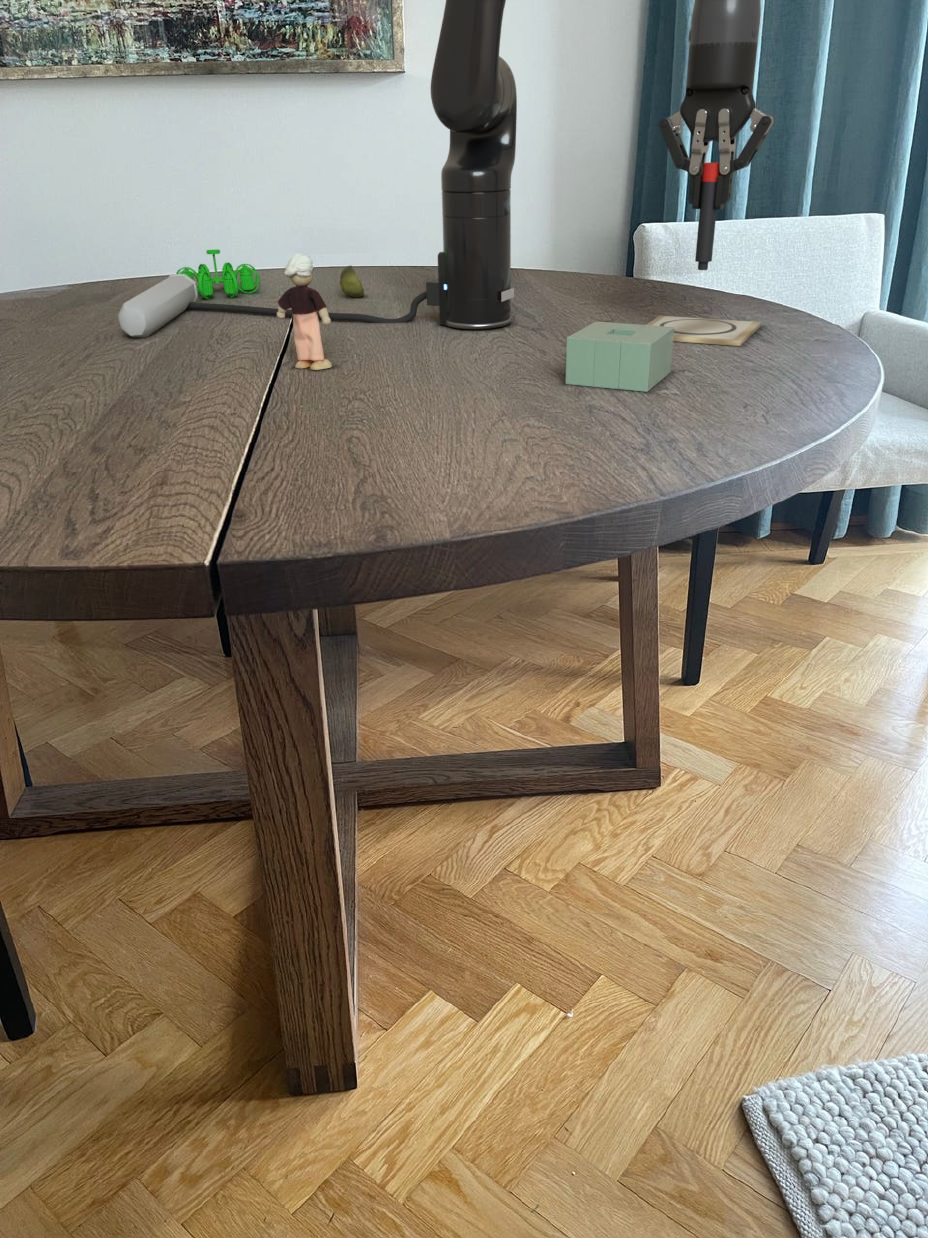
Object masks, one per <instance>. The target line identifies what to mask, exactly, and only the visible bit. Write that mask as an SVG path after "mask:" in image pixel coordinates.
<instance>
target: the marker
mask: <svg viewBox="0 0 928 1238" xmlns="http://www.w3.org/2000/svg"><path fill="white" fill-rule="evenodd" d="M719 169H720V161H719V162H711V161H710V162H705V163H703V173H702V189H701V201H700V209H699V213H698V226H697V236H696V246H695V247H696V248H695V260H694V261H695V263H696V262H697V271H707V270H708V268H709V263H710V262H712V261H713V251H714V242H715V230H716V220H717V211H718V209H715V198H716V187H717V176H718V175H720V170H719Z"/></svg>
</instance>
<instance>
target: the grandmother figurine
mask: <svg viewBox="0 0 928 1238" xmlns="http://www.w3.org/2000/svg"><path fill="white" fill-rule="evenodd" d="M313 268H314V267H313V259H312V258H311V257H310V256H309V255H308V254H307V253H306V254H305V253H296V254H294V255H293V256H292V257H291V258H290V259H289V260H288V261H287V263H286V266H285V269H284V272H283V274H284V276H285V277H288V278H289V279H290V281H291V282H292V284H293V285H295V286H292V287H290V288H288V289H287V290H286V291H285V292H284V293H283V294H282V295H281V296H280V298H279V299H278V300H277V304H278V306H277V309H278V312H277V315H276V317H277V318H278V319H279V320H284V319H285V318H286V316H285V312H286V311H287V310H292V315H293V317H292V327H293V328H292V329H293V339H294V340H293V341H294V345H295V346H294V347H295V351H296V359H297V362H296V363H295V366H294V368H295V369H307V368H309V369H310V370H312V371H320V370H325V369H330V368H332V367H333V364H332V362H331V361H330V360H329V359H327V358H325V354H324V353H325V352H324V348H323V343H322V342H323V341H322V336H321V335H322V334H321V325H320V319H318V315H317V312H319V315H320V317H321V318H322V319H321V323H322V325H323V326H330V325H331V323H332V320H331V319H330V318H329V314H328V313H329V311H328V307H327V305H326V303H325V301H324V300H323V297H322V296H321V294H320V292H318V291H317V290H316V289H314V288H312V287H309V285H310V284H311V283H312V281H313V277H314V274H313Z"/></svg>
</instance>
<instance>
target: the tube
mask: <svg viewBox="0 0 928 1238" xmlns="http://www.w3.org/2000/svg"><path fill="white" fill-rule="evenodd" d="M197 285H198V283H197V281H195V279H194V280H193V279H191V278H190V277H188V276H187V275H185V274H176V273H170V274H169V276H168V277H167V278H165V279H163V280H161V281H160V282H158V283H156V284H155V285H153V286H151V287H150V288H148V289H146V290H143V292H141V293H139V294H137V295H136V296H134V297H132V298H130V299H129V300H127V301H125V302H124V303H122V306H121V308H120V310H119V312H118V313H117V320H118V325H119V330H120V331H122V332H123V333H125V334H127V335H128V336H129V337H131V338H133V339H145V338H149V337H150V336H151V335H152V334H154V333H155V332H157V331H158V330H160V329H161V328H162V327H164V326H165V325H167V324H168V323H170V321H172V320H173V319H174V318H176V317H177V316H179V315H180V314H181V313H183V312H184V311H186V310H188V309H187V306H188V305H189V303H196V301H197V299H198V297H199V291H197Z"/></svg>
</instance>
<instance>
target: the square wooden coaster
mask: <svg viewBox="0 0 928 1238" xmlns="http://www.w3.org/2000/svg"><path fill="white" fill-rule="evenodd" d="M645 325H652V326H666V327H674V339H673V342H677V343H678V342H679V343H692V344H703V345H704V344H705V345H717V346H718V345H721V346H730V347H731V346H732V347H741V346H742V345H743V344H744V343H746V341H747V340H749V338H750V337H751V336H752V335H754V333H756V332H757V330H758V329H760V328H761V326H762V322H761V321H750V320H749V321H748V320H734V319H733V320H732V319H719V318H701V317H686V316H672V315H659V316H657V317H656V318H654V319H652V320H651V321H649V322H647V323H646V324H645Z"/></svg>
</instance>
